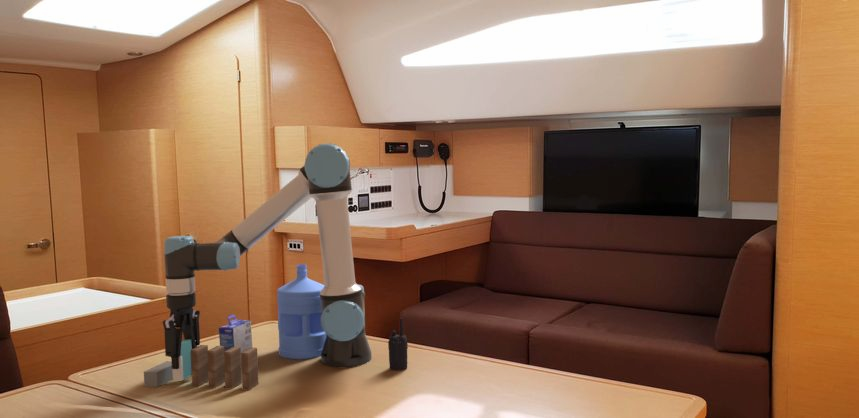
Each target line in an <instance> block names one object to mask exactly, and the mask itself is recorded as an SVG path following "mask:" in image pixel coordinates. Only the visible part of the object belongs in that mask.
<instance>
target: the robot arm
mask: <svg viewBox="0 0 859 418" xmlns="http://www.w3.org/2000/svg"><path fill="white" fill-rule="evenodd" d="M351 180H352V179H351V162H350V158H349V155H348V154H347V153H346V151H345V150H344V149H343V148H342V147H341V146H340V145H337V144H335V143H332V142H330V143H329V142H328V143H321V144H317V145H316V146H314V147H313V148H312V149H310V151H308V153H307V155H306V158H305V160H304V165H303V166H302V167H301V168H299V169H298V174H297V175H296V176H294V178H293V179H292V180H290V181H289V182H288V183H287V184H285V185H284V186H283V187H282V188H281V189H279V190H278V191H277V192H276V193H275V194H273V195H272V196H271V197H270V198H269V199H267V200H266V201H265V202H264V203H263V204H261V205H260V206H259V207H258V208H256V209H255V210H254V211H252V213H250V214H249V215H248V216H247V217H245V218H244V219H243V220H242V221H240V222H239V223H238V224H237V225H236V226H235V227H234V228H232V229H231V230H229V231H228V232H227V233H226V234H225V235H223V237H221V238H220V239H217V240H216V241H214V242H205V243H203V242H195V240H194V238H193V236H191V235H173V236H169V237H166V238H165V240H164V242H163V243H164V246H163V247H164V249H163V251H164V252H163V256H164V272H165V273H164V274H165V292H166V293H167V294H166V296H165V299H166V303H165V304H166V308H167V309H169V310H170V313H169V318H168V319H167V320H166V319H164V320H163V321H162V325H163V328H164V329H163V330H164V350H165V351H164V352H165V353H164V355H165V357H169V358H171V359H170V361H172V372H173V379H172V380H173V381H184V380H183V360H182V356H180V352H181V343H182V340H184V339H191V341H192V349H194V348H196V347H198V346H200V345H201V338H200V337H201V336H200V321H199V320H200V313H201V311H200V310H194V307H195V306H196V305H197V295H196V292H194V291H196V275H195V272H196V271H198V272H199V271H229V270H230V271H231V270H236V269H238V268H239V267H240V263H241V256H243V255H244V254H245V253H246V252H247V251H248V250H249V249H251V248H252V247H253V246H254V245H256V244H257V243H258V242H259V241H260V240H262V239H263V238H265V236H266V235H268V234H269V233H270V232H272V231H273V230H274V229H276V227H278V226H279V225H280V224H281V223H282V222H284V221H285V220H287V218H289V217H290V216H291V215H292V214H294V213H295V212H296V211H297V210H298V209H300V208H301V207H302V206H303V205H304V204H306V202H308V201H309V200H311V198H312V199H314V202H315V206H316V207H315V208H316V216H317V218H316V219H317V224H318V235H319V245H320V253H321V254H320V255H321V263H322V273H323V283H324V284H323V285H325V286H324V288H323V289H322V290H321V292H320V300H321V310H322V315H321V326H322V328H323V330H324V332H325V333H326V339H325V343H324V346H323V350H322V353H321V356H320V362H321V364H322V365H325V366H326V367H331V368H338V367H342V368H343V367H345V368H354V367H359V366H363V365H364V364H365V365H366V364H367V362H368V363H369V362H371V361H372V358H373V357H372V350H371V347H370V344H369V342H368V338H367V335H366V316H365V315H366V313H365V312H366V311H365V309H366V308H365V295H366V292H365V288H364V286H363V285H362V284H358V283H357V282H356V276H355V275H356V274H355V264H354V254H353V244H352V234H351V225H350V215H349V204H348V203H349V202H348V197H349V196H350V194H351V193H352V191H353V189H352V181H351ZM362 364H363V365H362ZM358 365H359V366H358ZM353 366H354V367H353ZM343 369H344V368H343Z"/></svg>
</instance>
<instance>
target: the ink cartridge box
mask: <svg viewBox="0 0 859 418" xmlns="http://www.w3.org/2000/svg"><path fill="white" fill-rule="evenodd" d="M226 318H227V320H228V323H226V324H224V325H222V326H219V327H218V335H219V338H218V339H219V346H224V351H226V350H228V349H230V348H232V347H241V352H243V351H245V350H247V349H249V348H250V347H251V348H253V337H252V336H253V335H252V320H250V319H237V317H236V315H235V314H231V315H229V316H227V317H226ZM232 318H234V319H232ZM231 319H232V320H231Z"/></svg>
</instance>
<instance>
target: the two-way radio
mask: <svg viewBox="0 0 859 418" xmlns="http://www.w3.org/2000/svg"><path fill="white" fill-rule="evenodd" d="M403 321H404V320H403V318H402V317H400V318H399V334H397V332H396V329H395V330H394V329H393V330H392V331H391V335H390V336H389V339H388V363H389V364H388V365H389V369H390V370H391V371H405V370H407V369H408V339H407V336H406V334H404V323H403Z"/></svg>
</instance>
